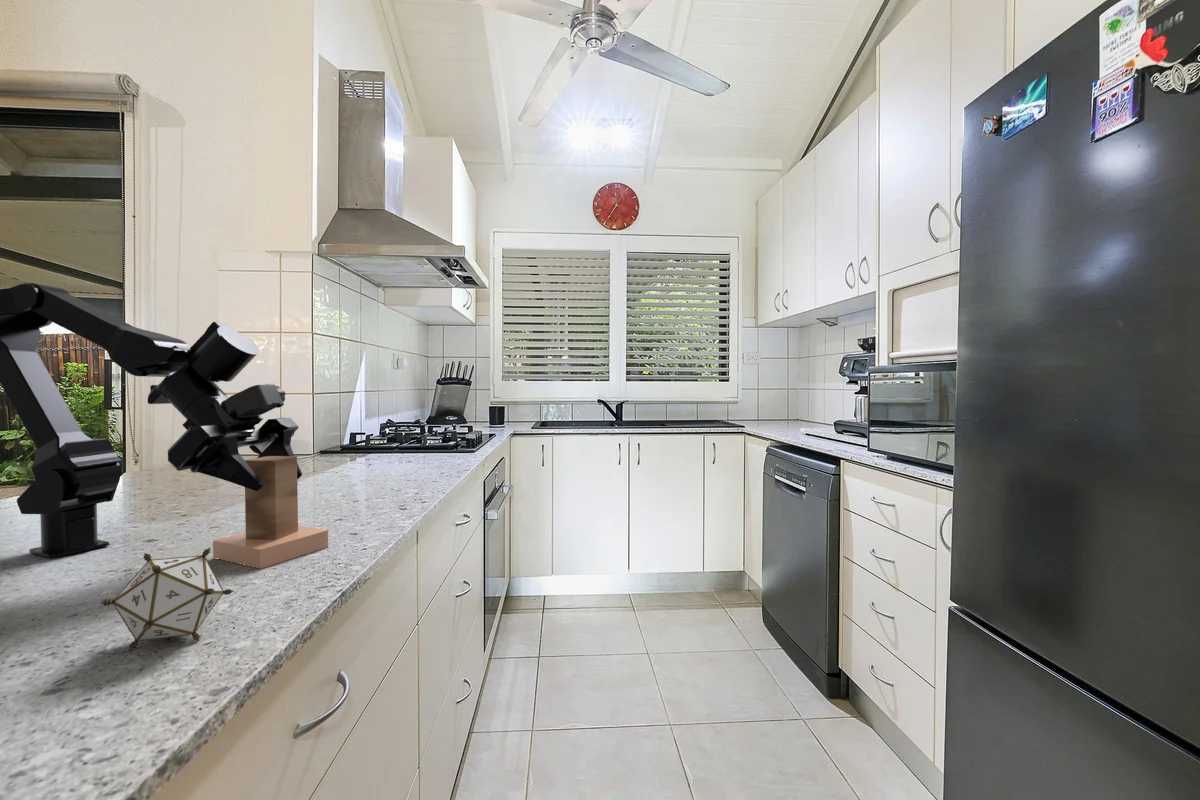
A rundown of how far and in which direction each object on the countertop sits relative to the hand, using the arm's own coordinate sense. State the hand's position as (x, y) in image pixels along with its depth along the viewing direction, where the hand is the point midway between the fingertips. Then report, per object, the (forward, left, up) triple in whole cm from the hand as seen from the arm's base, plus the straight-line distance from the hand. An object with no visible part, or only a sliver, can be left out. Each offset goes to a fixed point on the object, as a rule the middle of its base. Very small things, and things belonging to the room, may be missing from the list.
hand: (281, 482), depth 74 cm
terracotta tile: (-1, -1, -10) cm, 10 cm away
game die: (+15, -21, -10) cm, 28 cm away
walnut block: (-1, -1, -8) cm, 8 cm away
